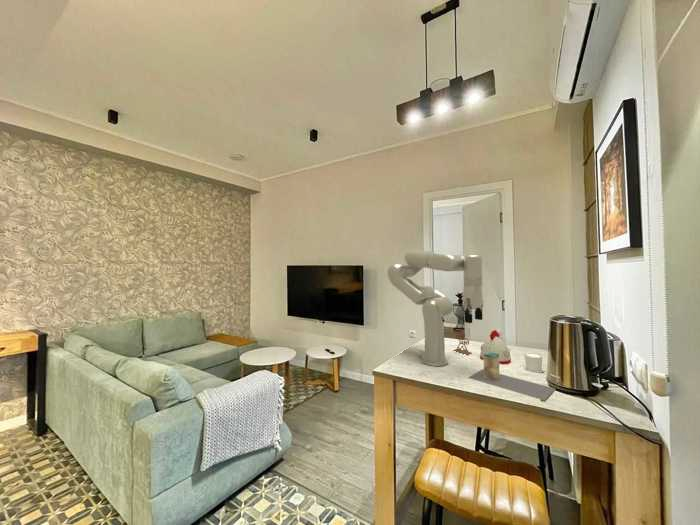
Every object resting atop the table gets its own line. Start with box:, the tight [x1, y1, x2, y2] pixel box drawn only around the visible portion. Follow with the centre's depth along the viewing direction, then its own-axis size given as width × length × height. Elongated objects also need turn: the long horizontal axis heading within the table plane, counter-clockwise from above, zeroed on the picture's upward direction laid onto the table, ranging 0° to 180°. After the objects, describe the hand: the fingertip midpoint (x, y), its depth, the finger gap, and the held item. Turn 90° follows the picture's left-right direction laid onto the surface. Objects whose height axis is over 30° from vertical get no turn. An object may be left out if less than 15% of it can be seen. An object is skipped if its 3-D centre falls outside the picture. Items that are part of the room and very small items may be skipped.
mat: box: [467, 368, 556, 402], centre depth 116 cm, size 28×14×1 cm, turn 41°
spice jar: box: [483, 352, 500, 381], centre depth 122 cm, size 4×4×10 cm
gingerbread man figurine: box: [453, 330, 473, 356], centre depth 158 cm, size 9×4×12 cm, turn 34°
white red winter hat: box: [479, 329, 512, 366], centre depth 146 cm, size 14×14×15 cm
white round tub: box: [524, 352, 543, 374], centre depth 130 cm, size 7×7×7 cm
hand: (473, 321), depth 127 cm, fingers open, 9 cm apart
